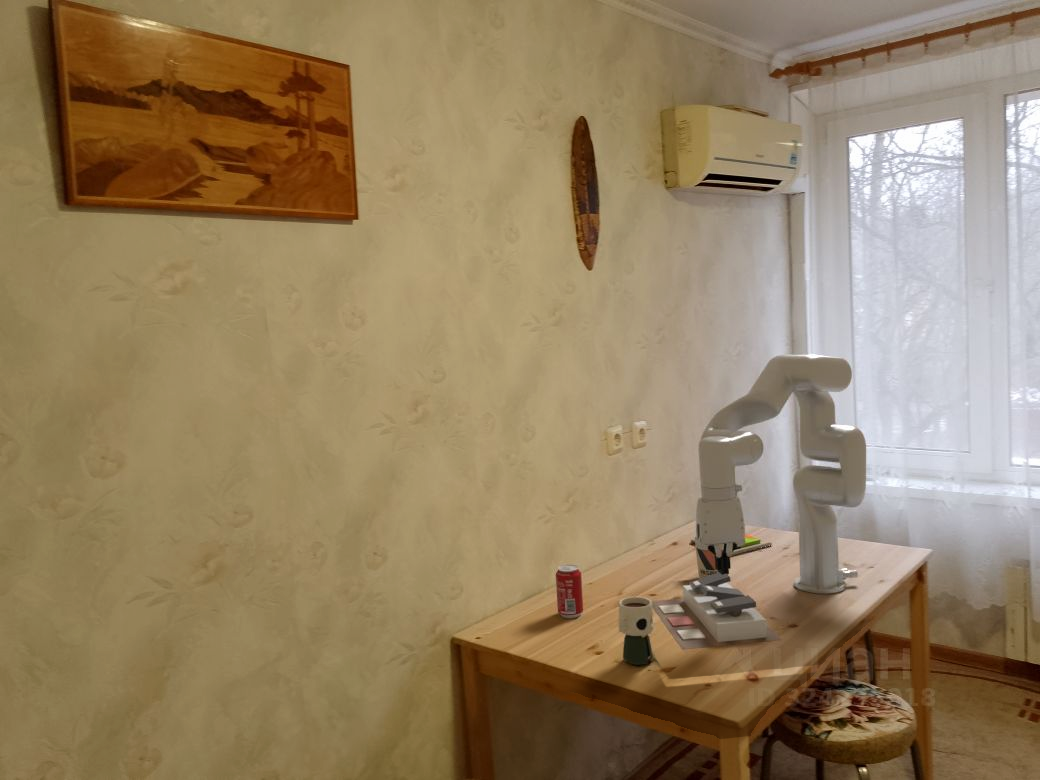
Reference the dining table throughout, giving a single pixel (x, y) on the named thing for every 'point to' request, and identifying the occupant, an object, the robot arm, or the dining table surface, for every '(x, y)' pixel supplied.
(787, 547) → the dining table surface
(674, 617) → the chart board
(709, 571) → the coffee cup
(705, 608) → the switch housing
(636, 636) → the character mug
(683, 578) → the dining table surface
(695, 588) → the block
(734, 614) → the rocker near
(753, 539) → the wooden puzzle
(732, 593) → the rocker middle
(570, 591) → the beverage can
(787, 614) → the dining table surface
